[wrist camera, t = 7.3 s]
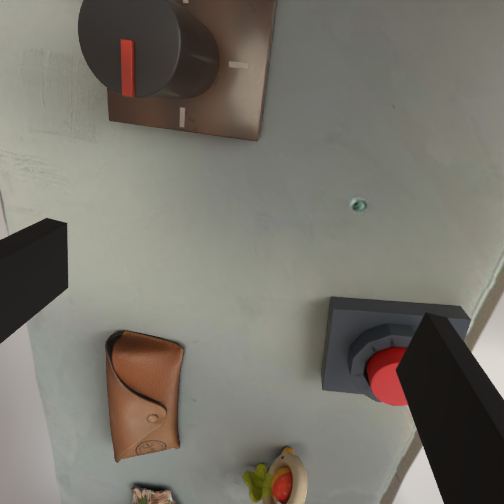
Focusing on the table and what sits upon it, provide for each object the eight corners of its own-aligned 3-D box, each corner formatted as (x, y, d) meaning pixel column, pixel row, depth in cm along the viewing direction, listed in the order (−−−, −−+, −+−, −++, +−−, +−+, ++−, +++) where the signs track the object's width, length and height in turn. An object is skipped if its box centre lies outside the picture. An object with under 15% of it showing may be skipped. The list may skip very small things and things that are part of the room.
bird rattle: (267, 423, 45) (233, 484, 45) (282, 487, 34) (237, 567, 34) (308, 444, 45) (275, 503, 46) (336, 513, 34) (292, 591, 34)
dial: (149, 10, 24) (68, -37, 15) (222, 20, 24) (181, -23, 15) (149, 92, 26) (78, 90, 18) (216, 102, 26) (176, 104, 17)
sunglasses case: (183, 452, 45) (139, 493, 40) (149, 421, 49) (105, 454, 44) (185, 343, 38) (132, 376, 33) (145, 315, 41) (92, 342, 36)
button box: (460, 306, 32) (481, 332, 29) (435, 386, 36) (451, 417, 33) (330, 296, 34) (334, 320, 30) (321, 374, 38) (323, 404, 34)
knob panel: (278, -9, 24) (276, -19, 22) (260, 138, 28) (257, 141, 26) (114, -28, 25) (98, -38, 23) (120, 119, 29) (107, 120, 27)
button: (429, 349, 30) (437, 365, 29) (417, 391, 33) (424, 409, 31) (370, 344, 31) (375, 359, 29) (362, 385, 33) (366, 403, 31)
